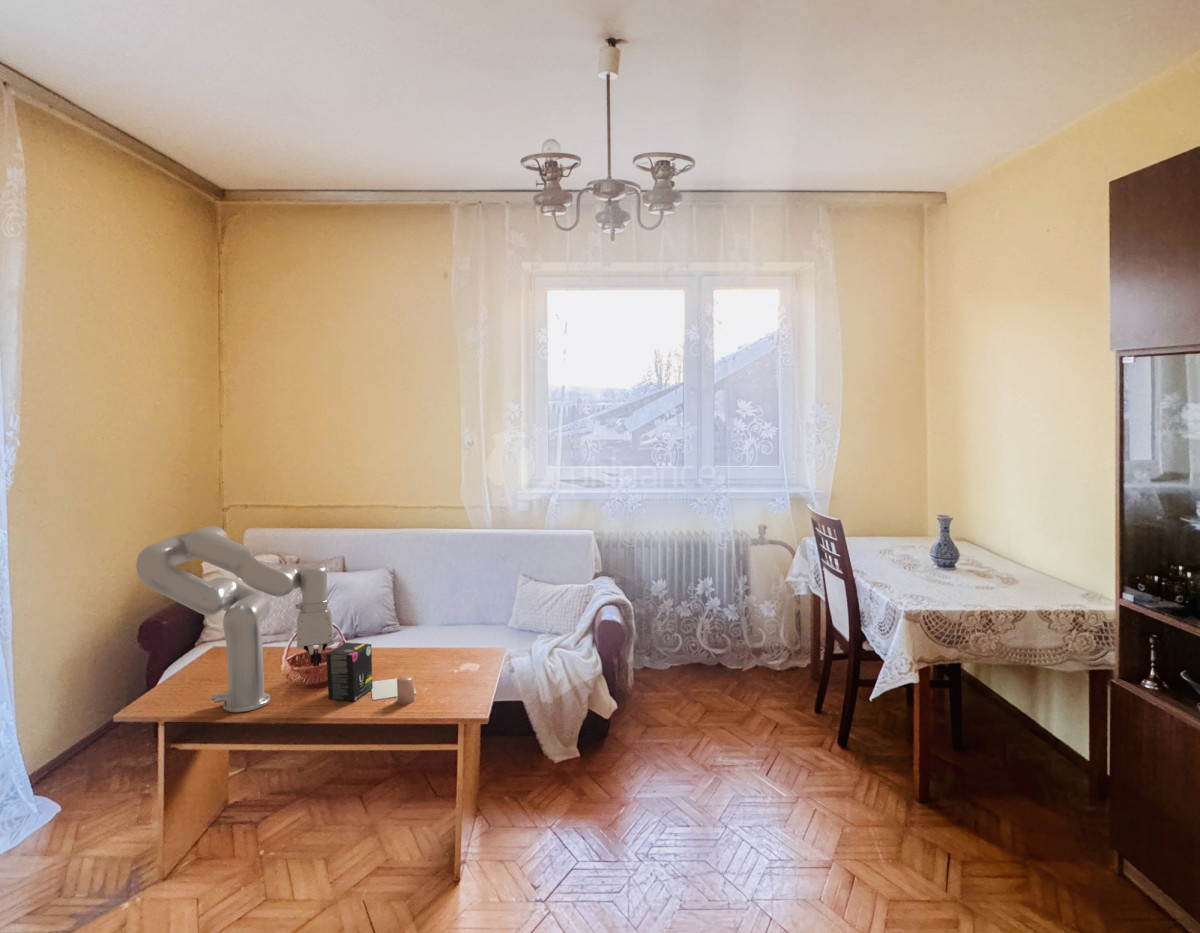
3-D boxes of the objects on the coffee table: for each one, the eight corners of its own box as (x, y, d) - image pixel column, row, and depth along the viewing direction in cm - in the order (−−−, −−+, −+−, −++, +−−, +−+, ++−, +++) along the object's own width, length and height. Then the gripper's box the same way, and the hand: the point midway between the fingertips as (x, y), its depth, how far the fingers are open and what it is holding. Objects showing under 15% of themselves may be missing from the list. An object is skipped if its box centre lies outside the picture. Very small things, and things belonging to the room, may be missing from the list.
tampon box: (354, 702, 199) (352, 655, 198) (327, 700, 201) (325, 653, 200) (374, 687, 210) (372, 643, 209) (348, 685, 212) (346, 641, 211)
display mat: (372, 700, 201) (372, 699, 201) (370, 682, 215) (370, 681, 215) (416, 694, 206) (416, 693, 206) (411, 676, 220) (411, 676, 220)
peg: (398, 705, 198) (397, 682, 197) (396, 698, 202) (396, 676, 202) (415, 702, 199) (414, 680, 199) (413, 696, 204) (413, 674, 204)
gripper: (286, 612, 194) (288, 673, 195) (340, 607, 199) (342, 666, 201) (288, 606, 201) (290, 664, 202) (340, 600, 206) (342, 658, 208)
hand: (316, 665), depth 201 cm, fingers closed
